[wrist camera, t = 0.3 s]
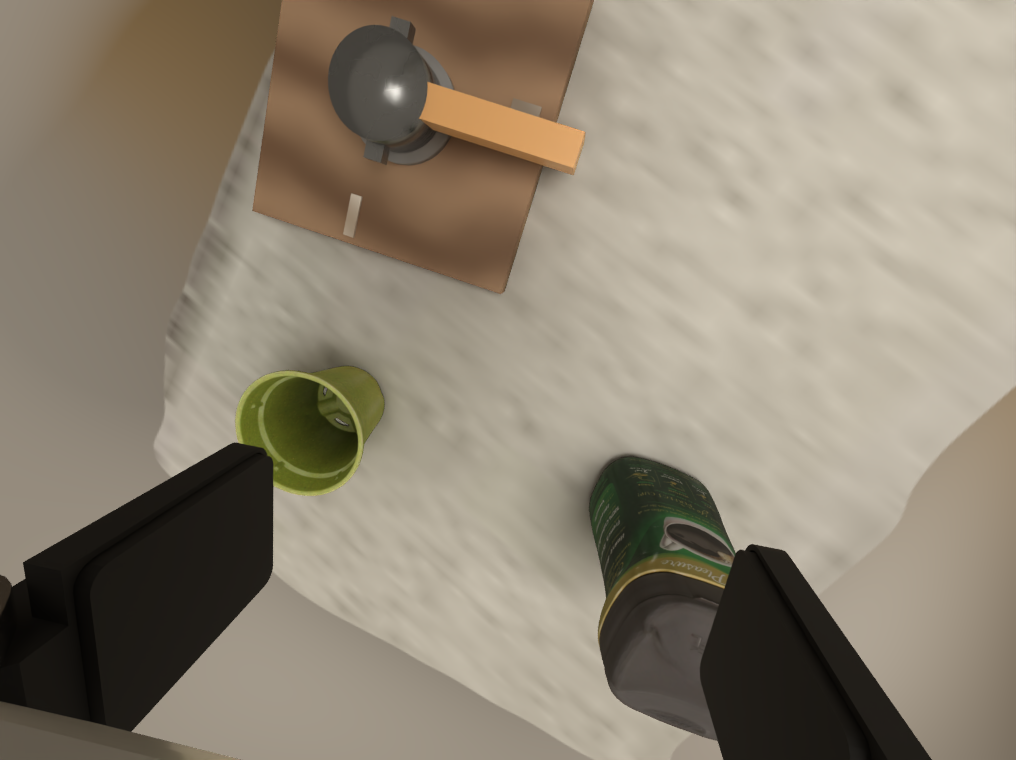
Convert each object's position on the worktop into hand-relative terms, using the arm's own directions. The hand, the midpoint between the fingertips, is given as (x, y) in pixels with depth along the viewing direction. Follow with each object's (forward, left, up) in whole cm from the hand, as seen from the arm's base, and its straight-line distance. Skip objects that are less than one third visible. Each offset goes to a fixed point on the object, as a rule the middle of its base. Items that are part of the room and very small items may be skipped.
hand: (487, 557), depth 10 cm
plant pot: (+12, -14, -30) cm, 35 cm away
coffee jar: (+12, +13, -30) cm, 34 cm away
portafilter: (-11, -10, -26) cm, 30 cm away
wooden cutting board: (-11, -14, -30) cm, 35 cm away
